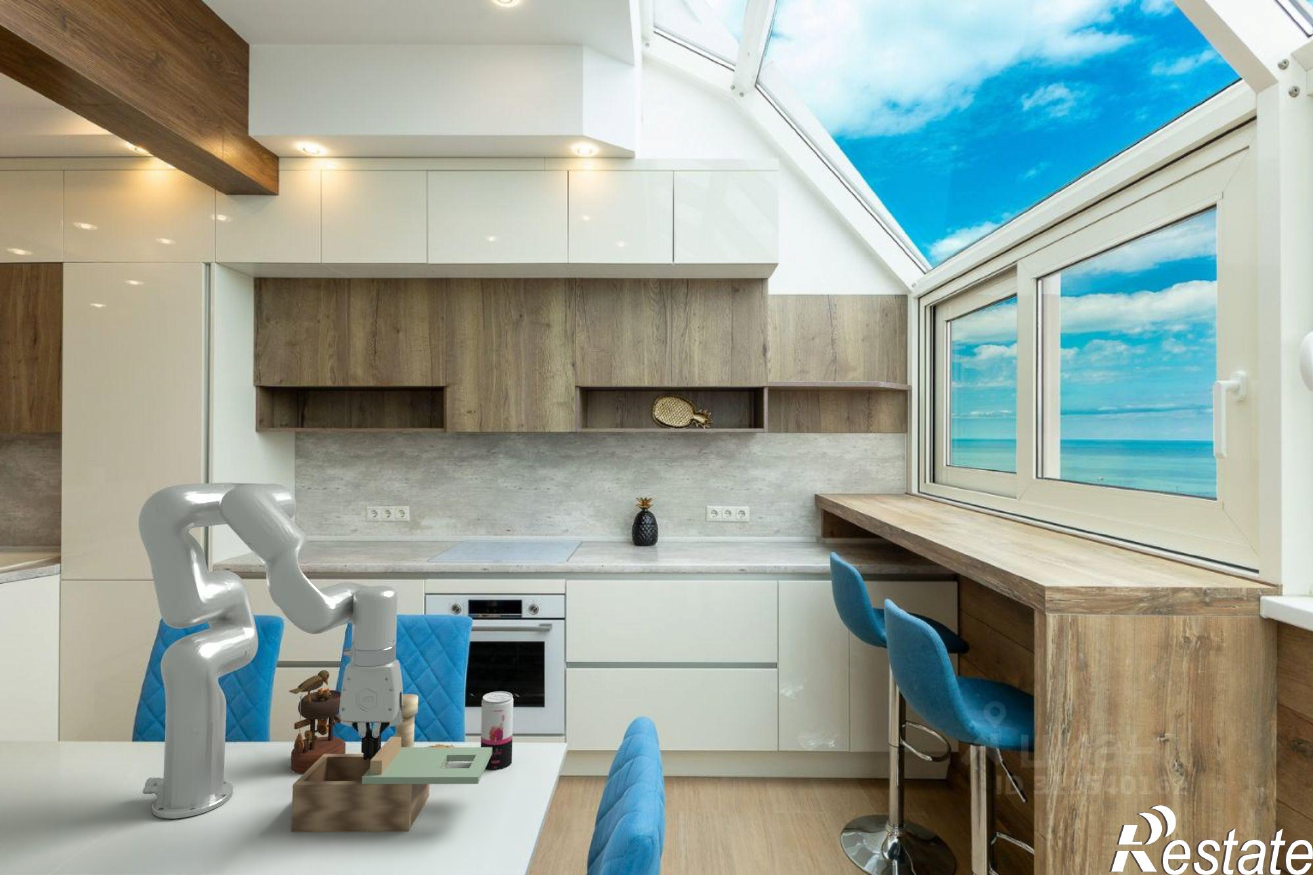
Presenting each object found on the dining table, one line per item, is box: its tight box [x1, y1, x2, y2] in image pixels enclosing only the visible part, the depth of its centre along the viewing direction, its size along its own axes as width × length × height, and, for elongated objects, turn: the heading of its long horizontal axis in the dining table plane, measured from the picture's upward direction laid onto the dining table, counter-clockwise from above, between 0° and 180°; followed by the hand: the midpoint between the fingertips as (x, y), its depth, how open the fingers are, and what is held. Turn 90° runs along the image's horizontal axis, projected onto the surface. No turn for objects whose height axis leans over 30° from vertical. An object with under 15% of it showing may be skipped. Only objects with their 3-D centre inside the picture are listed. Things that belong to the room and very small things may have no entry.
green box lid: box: [362, 736, 492, 785], centre depth 123 cm, size 20×12×4 cm, turn 92°
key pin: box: [395, 693, 419, 747], centre depth 139 cm, size 5×5×16 cm
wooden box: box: [290, 753, 430, 833], centre depth 123 cm, size 20×12×9 cm, turn 92°
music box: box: [288, 669, 347, 775], centre depth 145 cm, size 15×11×20 cm
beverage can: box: [480, 690, 514, 771], centre depth 143 cm, size 6×6×15 cm
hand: (370, 756), depth 123 cm, fingers closed
